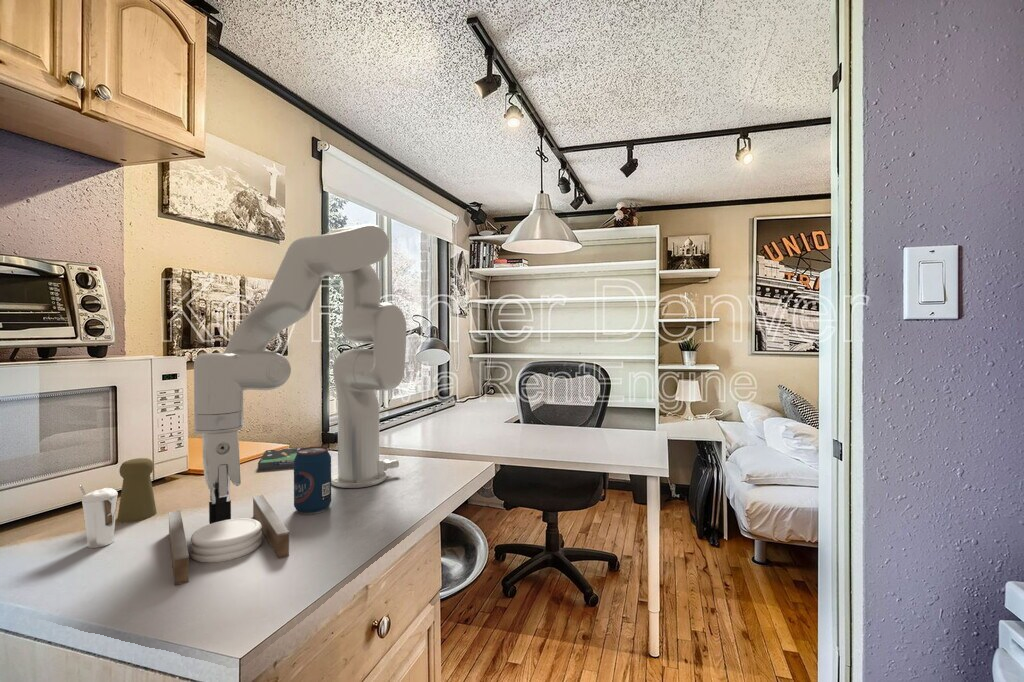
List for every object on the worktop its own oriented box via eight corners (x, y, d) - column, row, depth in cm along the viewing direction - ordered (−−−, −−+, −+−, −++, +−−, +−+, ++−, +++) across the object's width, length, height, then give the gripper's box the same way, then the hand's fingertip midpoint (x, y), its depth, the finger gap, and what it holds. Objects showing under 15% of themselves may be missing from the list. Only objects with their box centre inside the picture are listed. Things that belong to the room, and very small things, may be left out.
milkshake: (91, 539, 82) (91, 481, 82) (125, 537, 82) (124, 480, 82) (69, 551, 77) (68, 489, 77) (104, 549, 78) (104, 488, 78)
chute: (262, 514, 93) (262, 495, 93) (289, 555, 76) (289, 531, 76) (168, 533, 84) (168, 512, 84) (174, 585, 67) (174, 558, 67)
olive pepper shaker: (134, 523, 89) (134, 464, 89) (108, 520, 90) (108, 462, 90) (164, 511, 95) (164, 456, 95) (139, 509, 96) (139, 454, 96)
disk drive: (265, 460, 137) (257, 473, 123) (264, 450, 137) (257, 462, 123) (304, 456, 140) (301, 469, 127) (304, 447, 140) (301, 458, 127)
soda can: (285, 512, 94) (285, 452, 94) (312, 501, 100) (312, 444, 100) (313, 517, 91) (312, 455, 91) (338, 505, 98) (338, 447, 98)
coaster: (272, 536, 83) (272, 516, 83) (242, 564, 73) (241, 541, 73) (214, 537, 83) (214, 517, 83) (175, 565, 73) (175, 542, 73)
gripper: (249, 425, 82) (250, 531, 82) (237, 414, 94) (237, 507, 94) (197, 430, 77) (198, 543, 78) (191, 418, 89) (192, 515, 90)
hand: (220, 523), depth 86 cm, fingers closed
